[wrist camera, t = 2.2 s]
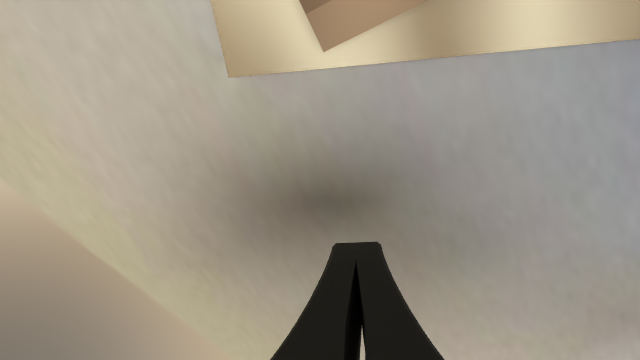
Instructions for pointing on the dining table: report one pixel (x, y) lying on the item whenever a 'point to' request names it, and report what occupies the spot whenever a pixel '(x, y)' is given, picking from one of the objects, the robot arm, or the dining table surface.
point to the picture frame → (350, 17)
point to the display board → (415, 32)
